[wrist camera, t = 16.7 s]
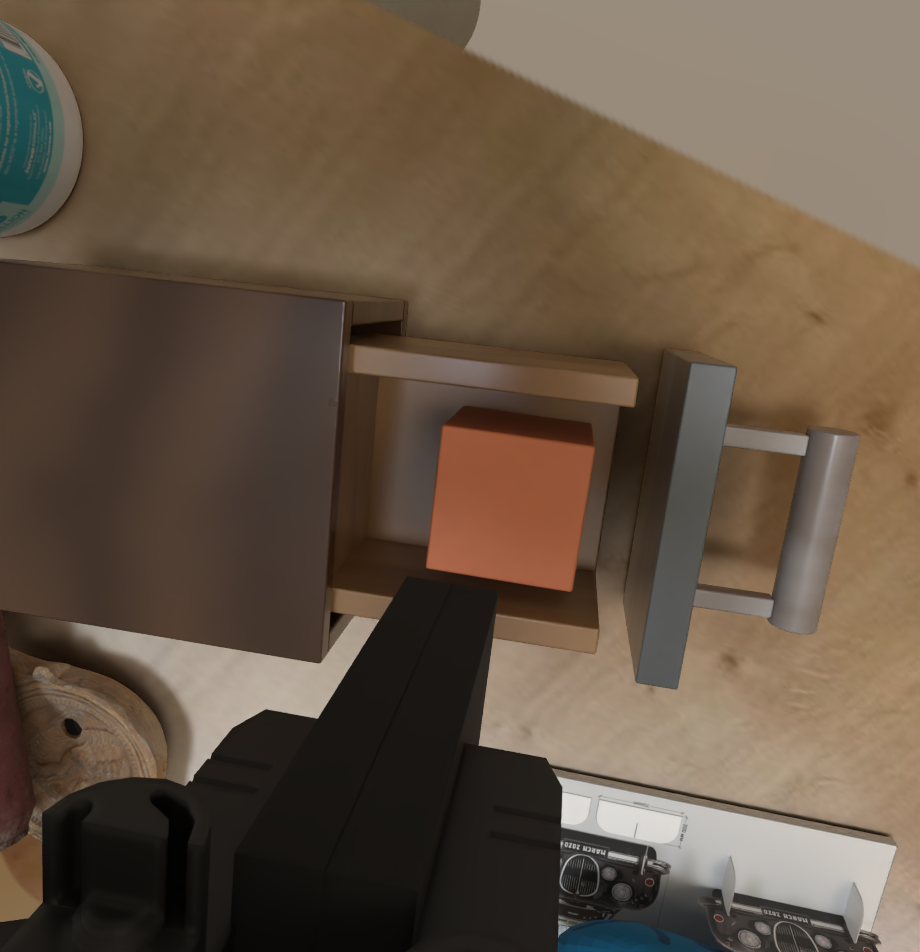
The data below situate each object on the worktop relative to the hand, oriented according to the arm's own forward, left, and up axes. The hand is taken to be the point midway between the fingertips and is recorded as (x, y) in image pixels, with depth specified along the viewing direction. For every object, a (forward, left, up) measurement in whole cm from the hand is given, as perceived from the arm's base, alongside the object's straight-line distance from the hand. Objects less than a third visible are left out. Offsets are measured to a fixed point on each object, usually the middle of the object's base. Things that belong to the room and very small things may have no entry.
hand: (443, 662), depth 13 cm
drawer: (-1, +1, -16) cm, 16 cm away
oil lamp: (+21, -1, -17) cm, 27 cm away
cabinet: (+7, -8, -17) cm, 20 cm away
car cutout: (+5, +17, -17) cm, 24 cm away
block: (0, 0, -15) cm, 15 cm away
